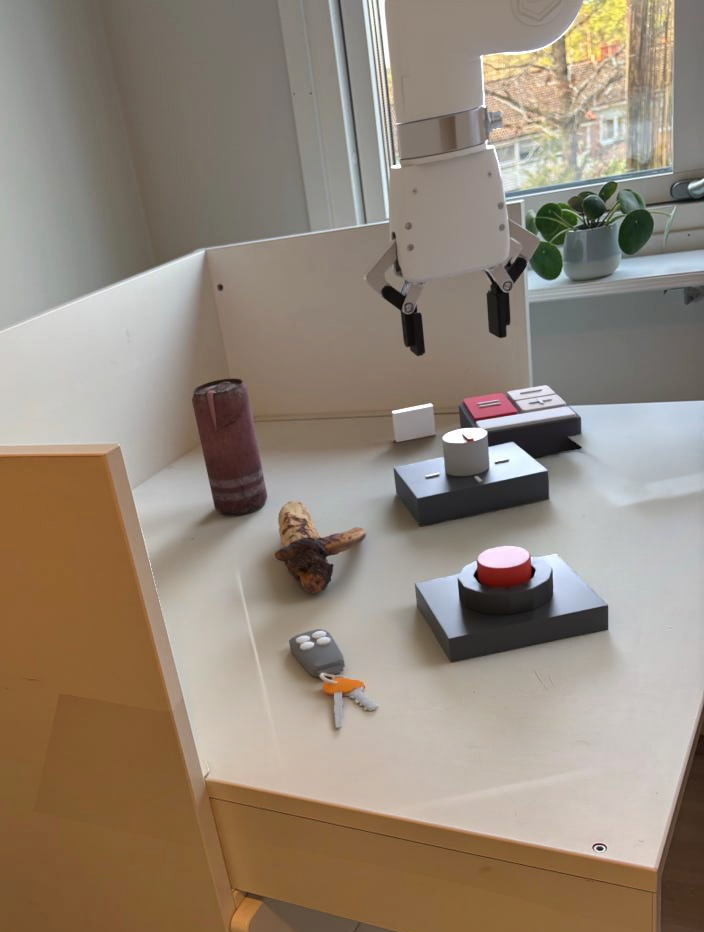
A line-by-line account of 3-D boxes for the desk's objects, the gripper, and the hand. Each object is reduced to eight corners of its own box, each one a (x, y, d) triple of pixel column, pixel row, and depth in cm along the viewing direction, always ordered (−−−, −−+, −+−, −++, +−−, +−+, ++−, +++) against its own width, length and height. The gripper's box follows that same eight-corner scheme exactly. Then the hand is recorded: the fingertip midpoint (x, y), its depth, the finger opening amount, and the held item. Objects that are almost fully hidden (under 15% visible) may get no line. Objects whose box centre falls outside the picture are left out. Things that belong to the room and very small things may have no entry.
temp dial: (440, 466, 100) (436, 431, 98) (481, 457, 100) (479, 421, 98) (452, 479, 96) (449, 443, 94) (495, 470, 96) (493, 433, 94)
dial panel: (514, 468, 103) (513, 440, 102) (549, 499, 95) (548, 468, 93) (396, 493, 104) (392, 465, 102) (420, 526, 95) (417, 497, 93)
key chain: (285, 651, 79) (282, 635, 78) (328, 638, 79) (325, 623, 78) (337, 732, 67) (334, 714, 67) (386, 717, 68) (384, 699, 67)
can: (211, 520, 107) (185, 398, 101) (219, 499, 113) (195, 381, 106) (265, 513, 106) (241, 388, 99) (270, 492, 111) (248, 373, 105)
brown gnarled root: (386, 591, 85) (354, 514, 101) (383, 543, 83) (350, 472, 98) (283, 608, 86) (266, 528, 101) (276, 560, 83) (260, 487, 99)
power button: (520, 561, 76) (519, 541, 76) (539, 582, 73) (538, 561, 72) (471, 572, 76) (469, 552, 76) (487, 593, 73) (486, 572, 72)
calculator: (550, 381, 115) (581, 410, 102) (551, 416, 117) (583, 449, 104) (457, 397, 117) (476, 427, 104) (460, 431, 119) (479, 465, 105)
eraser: (435, 434, 118) (433, 405, 116) (396, 442, 118) (393, 413, 116) (433, 431, 119) (430, 402, 117) (394, 439, 119) (391, 410, 118)
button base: (557, 576, 81) (555, 533, 79) (608, 630, 72) (608, 583, 70) (416, 606, 81) (412, 563, 79) (451, 663, 72) (446, 617, 70)
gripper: (524, 117, 87) (532, 318, 95) (335, 159, 87) (360, 355, 95) (556, 116, 80) (562, 331, 88) (352, 162, 80) (377, 372, 89)
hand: (457, 342), depth 92 cm, fingers open, 7 cm apart
